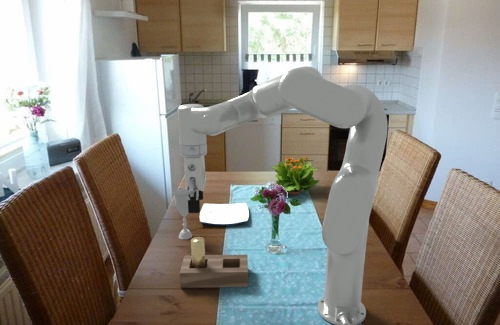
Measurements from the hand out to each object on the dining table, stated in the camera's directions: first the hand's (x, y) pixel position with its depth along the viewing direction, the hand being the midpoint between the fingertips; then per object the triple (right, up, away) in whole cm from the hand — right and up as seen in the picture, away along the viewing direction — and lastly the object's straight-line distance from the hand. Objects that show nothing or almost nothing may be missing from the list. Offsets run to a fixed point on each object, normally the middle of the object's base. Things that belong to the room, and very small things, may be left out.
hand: (196, 205), depth 115 cm
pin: (0, -22, +7) cm, 23 cm away
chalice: (-9, -15, +34) cm, 38 cm away
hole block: (+5, -23, +7) cm, 24 cm away
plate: (+5, -11, +50) cm, 52 cm away
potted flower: (+37, -1, +80) cm, 88 cm away
